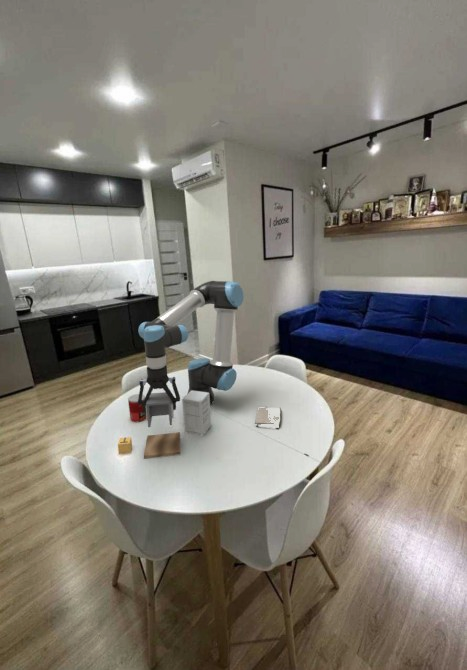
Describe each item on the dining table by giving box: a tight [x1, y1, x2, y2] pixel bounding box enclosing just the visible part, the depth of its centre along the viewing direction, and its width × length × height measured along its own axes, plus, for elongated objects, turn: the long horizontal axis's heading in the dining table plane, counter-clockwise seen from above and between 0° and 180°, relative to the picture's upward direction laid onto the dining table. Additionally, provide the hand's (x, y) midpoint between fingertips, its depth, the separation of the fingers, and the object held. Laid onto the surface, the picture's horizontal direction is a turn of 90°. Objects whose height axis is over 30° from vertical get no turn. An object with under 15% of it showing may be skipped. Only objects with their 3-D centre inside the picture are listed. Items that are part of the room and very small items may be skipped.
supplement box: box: [181, 390, 212, 437], centre depth 136 cm, size 10×9×17 cm
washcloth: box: [254, 408, 279, 425], centre depth 146 cm, size 12×18×3 cm, turn 170°
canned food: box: [127, 393, 147, 423], centre depth 146 cm, size 8×8×11 cm
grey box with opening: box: [146, 391, 173, 428], centre depth 121 cm, size 9×9×10 cm
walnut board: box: [143, 431, 181, 459], centre depth 126 cm, size 14×14×1 cm
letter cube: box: [117, 436, 133, 455], centre depth 123 cm, size 4×4×5 cm
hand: (160, 417), depth 122 cm, fingers closed on grey box with opening, 9 cm apart
